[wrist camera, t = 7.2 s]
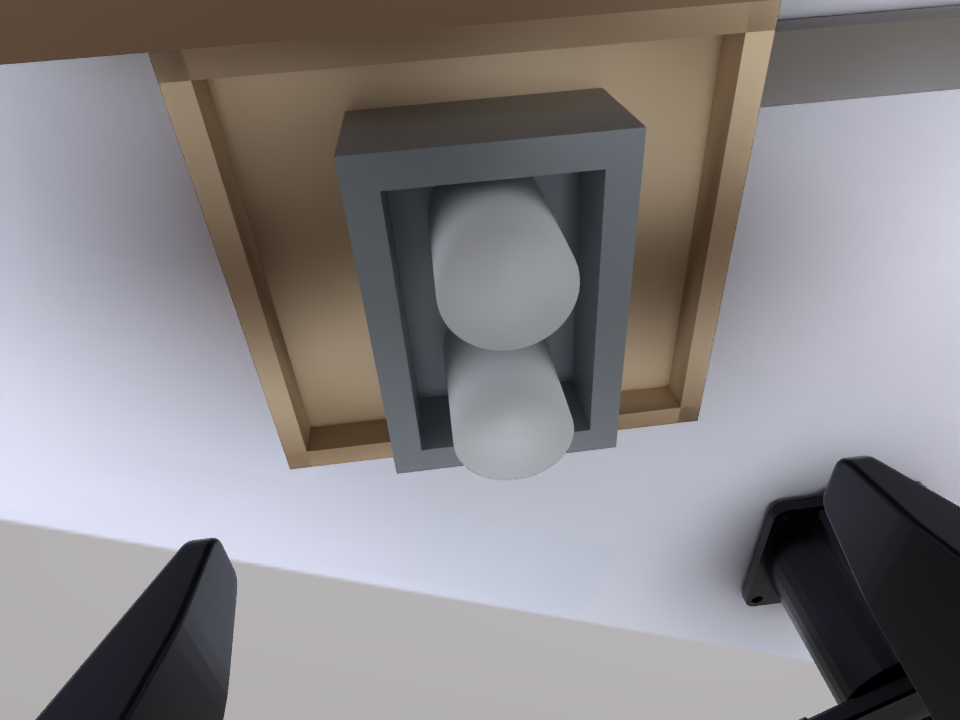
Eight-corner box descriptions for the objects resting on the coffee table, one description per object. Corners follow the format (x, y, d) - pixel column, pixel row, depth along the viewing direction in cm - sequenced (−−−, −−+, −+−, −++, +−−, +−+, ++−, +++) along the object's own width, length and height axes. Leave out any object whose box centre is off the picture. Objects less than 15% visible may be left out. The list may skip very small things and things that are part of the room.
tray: (587, 375, 18) (633, 491, 15) (396, 397, 18) (397, 521, 15) (602, 87, 14) (676, 154, 10) (344, 111, 13) (326, 188, 10)
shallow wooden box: (1122, 331, 21) (1340, 459, 16) (298, 427, 19) (266, 600, 15) (1387, -68, 14) (1891, -53, 10) (174, 32, 13) (42, 109, 8)
